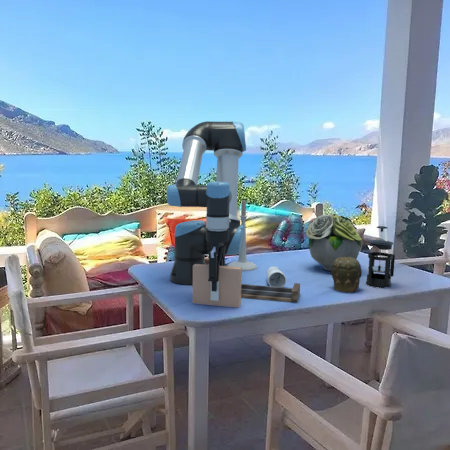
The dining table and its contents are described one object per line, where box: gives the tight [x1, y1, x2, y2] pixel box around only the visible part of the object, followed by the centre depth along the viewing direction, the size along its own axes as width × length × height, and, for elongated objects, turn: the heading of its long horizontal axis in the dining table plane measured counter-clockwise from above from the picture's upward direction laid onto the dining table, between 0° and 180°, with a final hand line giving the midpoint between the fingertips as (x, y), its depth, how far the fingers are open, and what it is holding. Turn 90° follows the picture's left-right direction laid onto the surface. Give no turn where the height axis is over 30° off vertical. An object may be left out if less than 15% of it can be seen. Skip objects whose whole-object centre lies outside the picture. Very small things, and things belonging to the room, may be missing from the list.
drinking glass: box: [266, 265, 287, 288], centre depth 185 cm, size 7×7×15 cm
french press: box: [365, 225, 396, 289], centre depth 186 cm, size 12×9×23 cm
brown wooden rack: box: [241, 282, 301, 304], centre depth 171 cm, size 28×10×4 cm, turn 76°
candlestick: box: [227, 200, 258, 272], centre depth 209 cm, size 13×13×30 cm
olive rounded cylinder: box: [330, 257, 362, 293], centre depth 180 cm, size 11×11×12 cm
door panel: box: [192, 263, 243, 309], centre depth 160 cm, size 16×3×13 cm, turn 76°
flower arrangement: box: [305, 213, 363, 272], centre depth 208 cm, size 25×25×24 cm
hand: (216, 297), depth 161 cm, fingers open, 4 cm apart
